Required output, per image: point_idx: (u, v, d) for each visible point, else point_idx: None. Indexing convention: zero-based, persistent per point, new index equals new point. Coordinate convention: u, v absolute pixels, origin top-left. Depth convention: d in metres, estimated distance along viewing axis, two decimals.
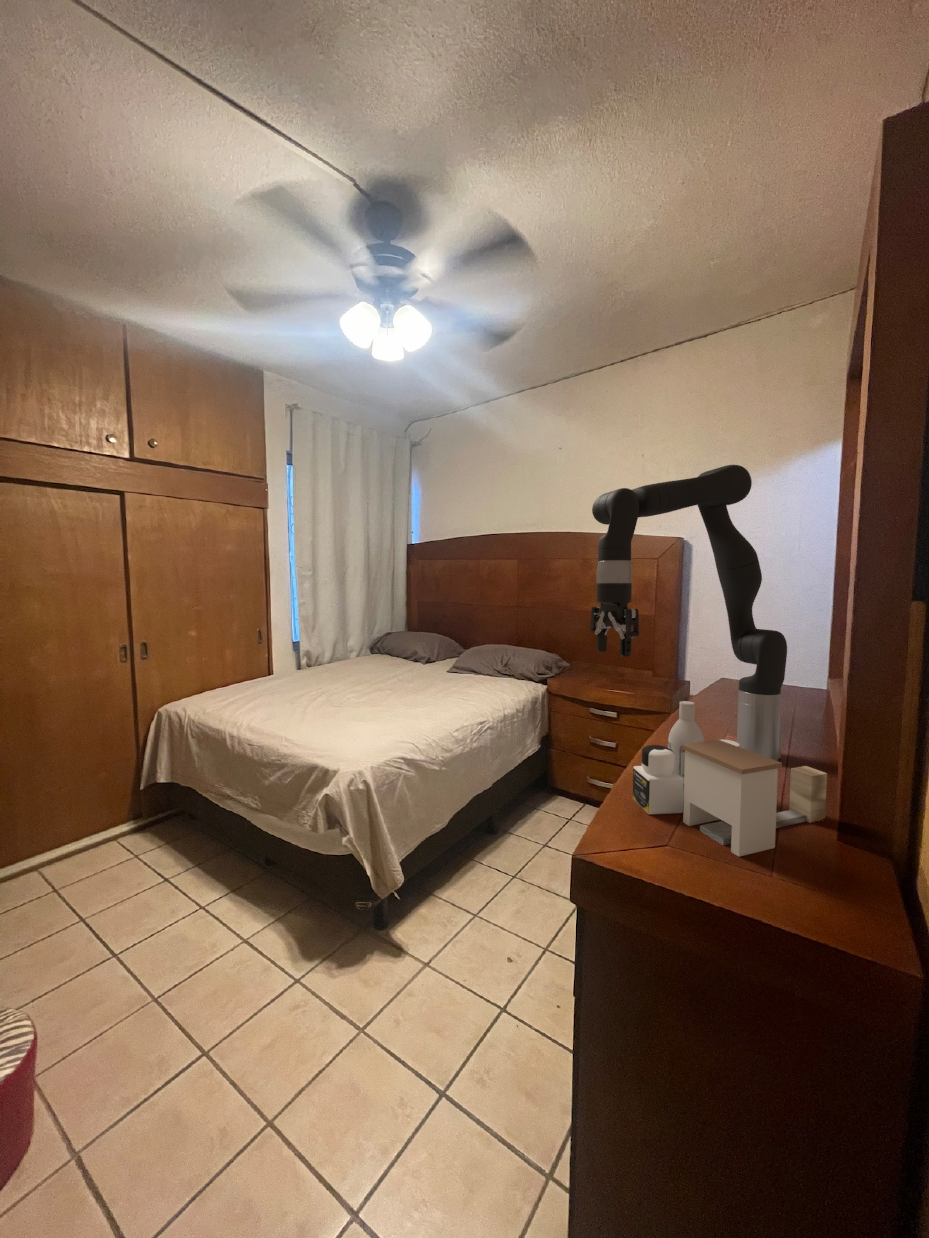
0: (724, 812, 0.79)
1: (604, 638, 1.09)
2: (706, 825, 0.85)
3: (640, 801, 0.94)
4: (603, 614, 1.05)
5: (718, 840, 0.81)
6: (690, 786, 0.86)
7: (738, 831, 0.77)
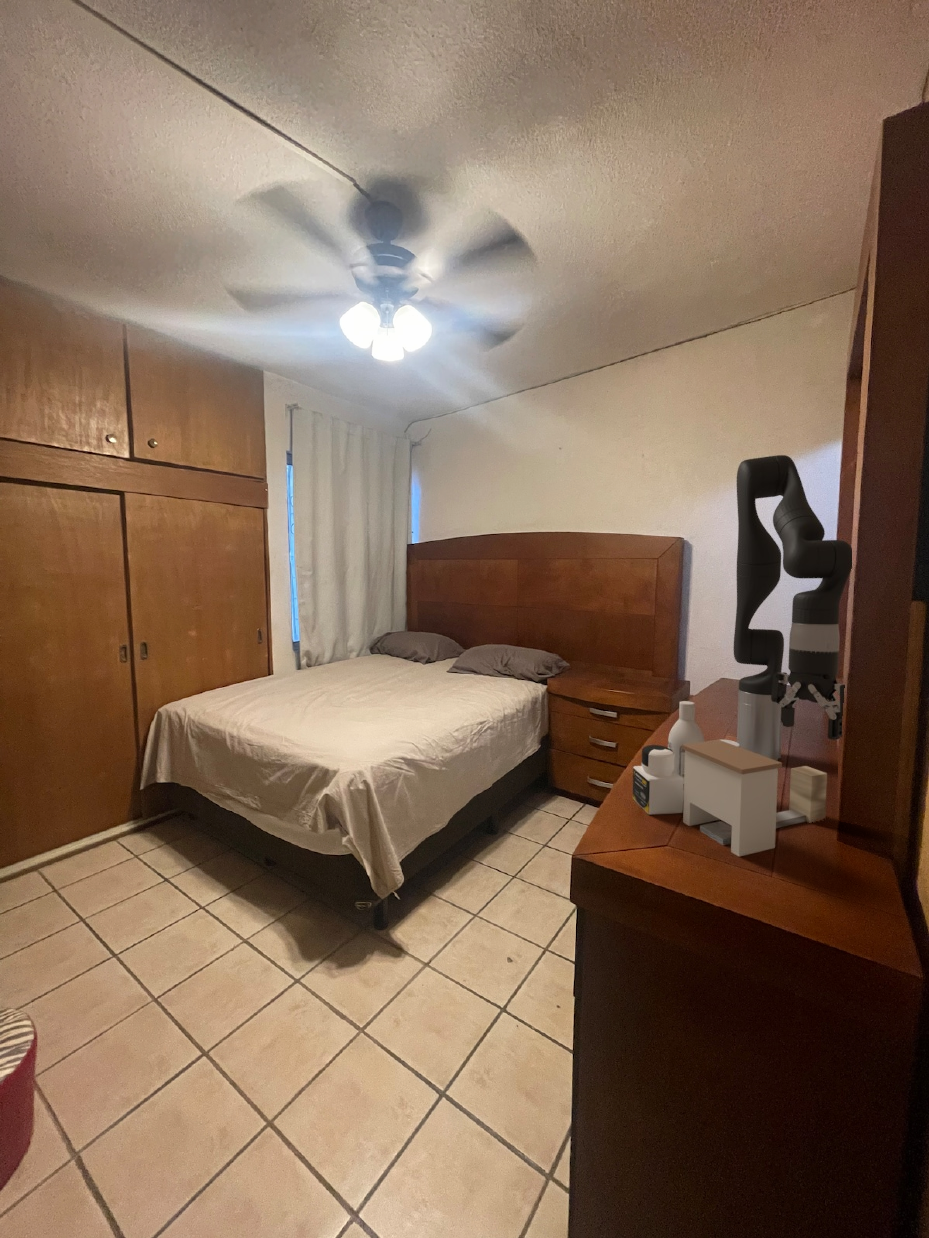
0: (724, 812, 0.79)
1: (792, 711, 0.92)
2: (706, 825, 0.85)
3: (640, 801, 0.94)
4: (799, 685, 0.89)
5: (718, 840, 0.81)
6: (690, 786, 0.86)
7: (738, 831, 0.77)
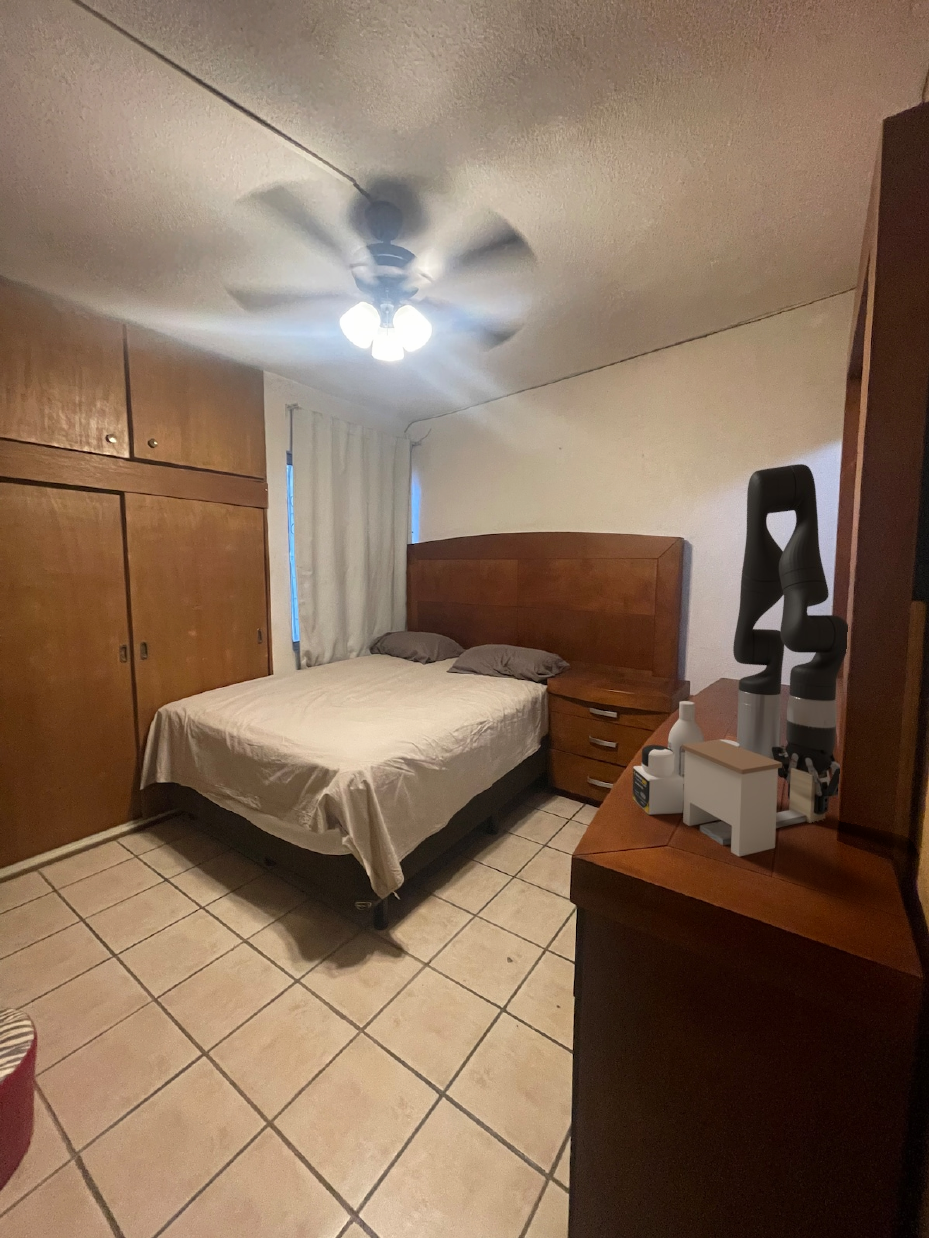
0: (724, 812, 0.79)
1: None
2: (706, 825, 0.85)
3: (640, 801, 0.94)
4: (796, 756, 0.89)
5: (718, 840, 0.81)
6: (690, 786, 0.86)
7: (738, 831, 0.77)
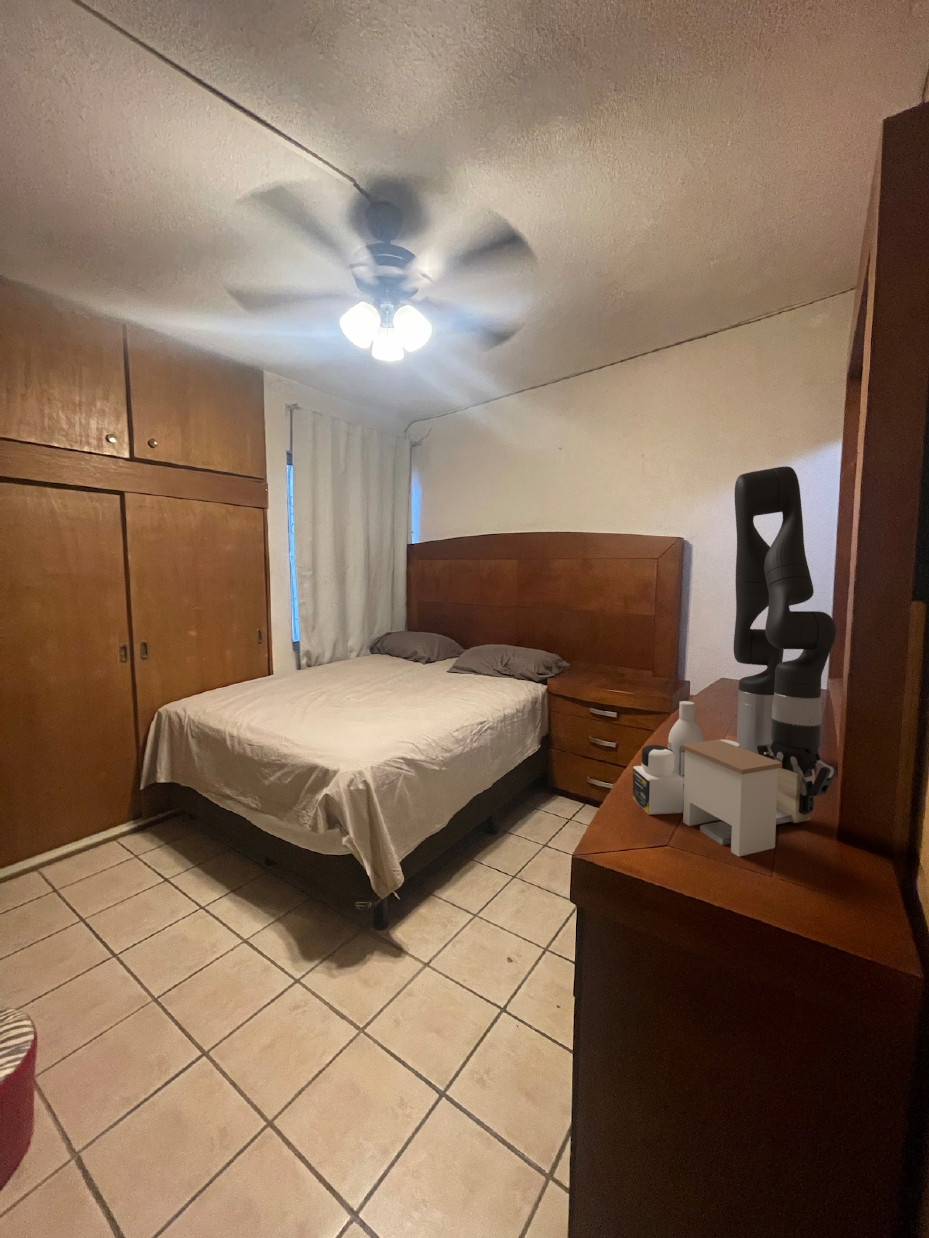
0: (724, 812, 0.79)
1: None
2: (706, 825, 0.85)
3: (640, 801, 0.94)
4: (781, 755, 0.88)
5: (717, 840, 0.81)
6: (690, 786, 0.86)
7: (738, 831, 0.77)
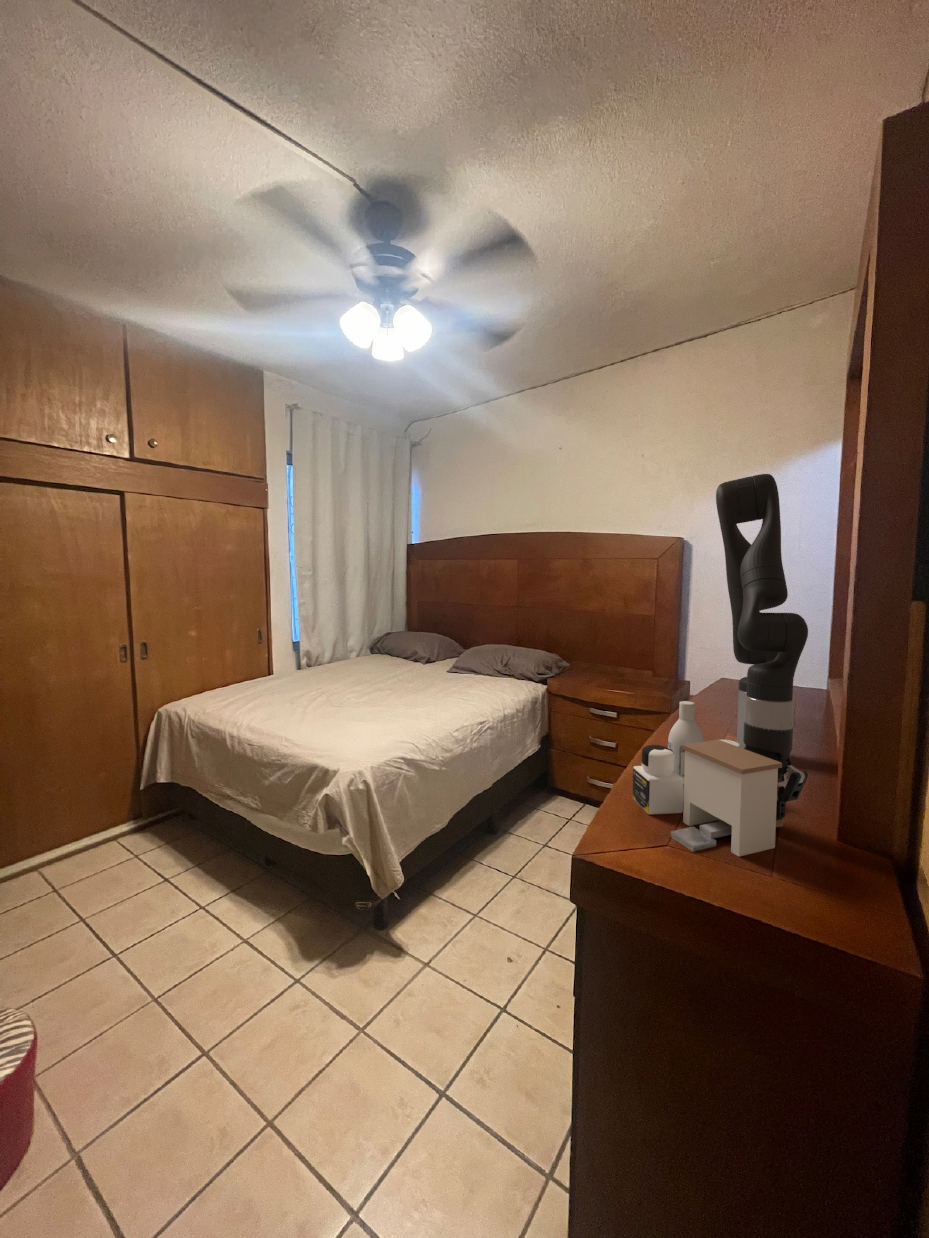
0: (724, 812, 0.79)
1: None
2: (677, 831, 0.83)
3: (640, 801, 0.94)
4: None
5: (688, 847, 0.79)
6: (690, 786, 0.86)
7: (738, 831, 0.77)
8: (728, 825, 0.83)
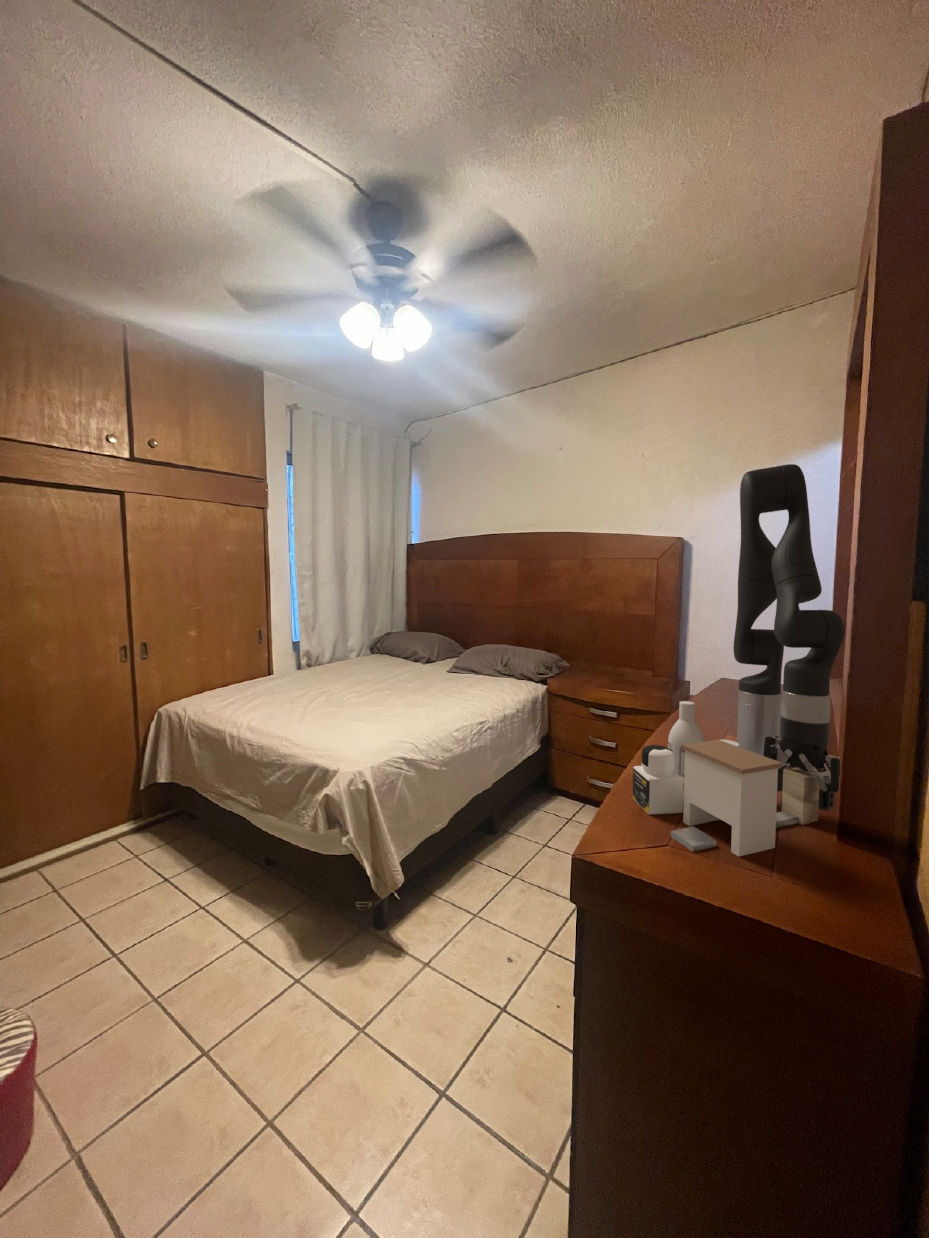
0: (724, 812, 0.79)
1: None
2: (677, 830, 0.83)
3: (640, 801, 0.94)
4: (790, 753, 0.89)
5: (688, 846, 0.79)
6: (690, 786, 0.86)
7: (738, 831, 0.77)
8: None
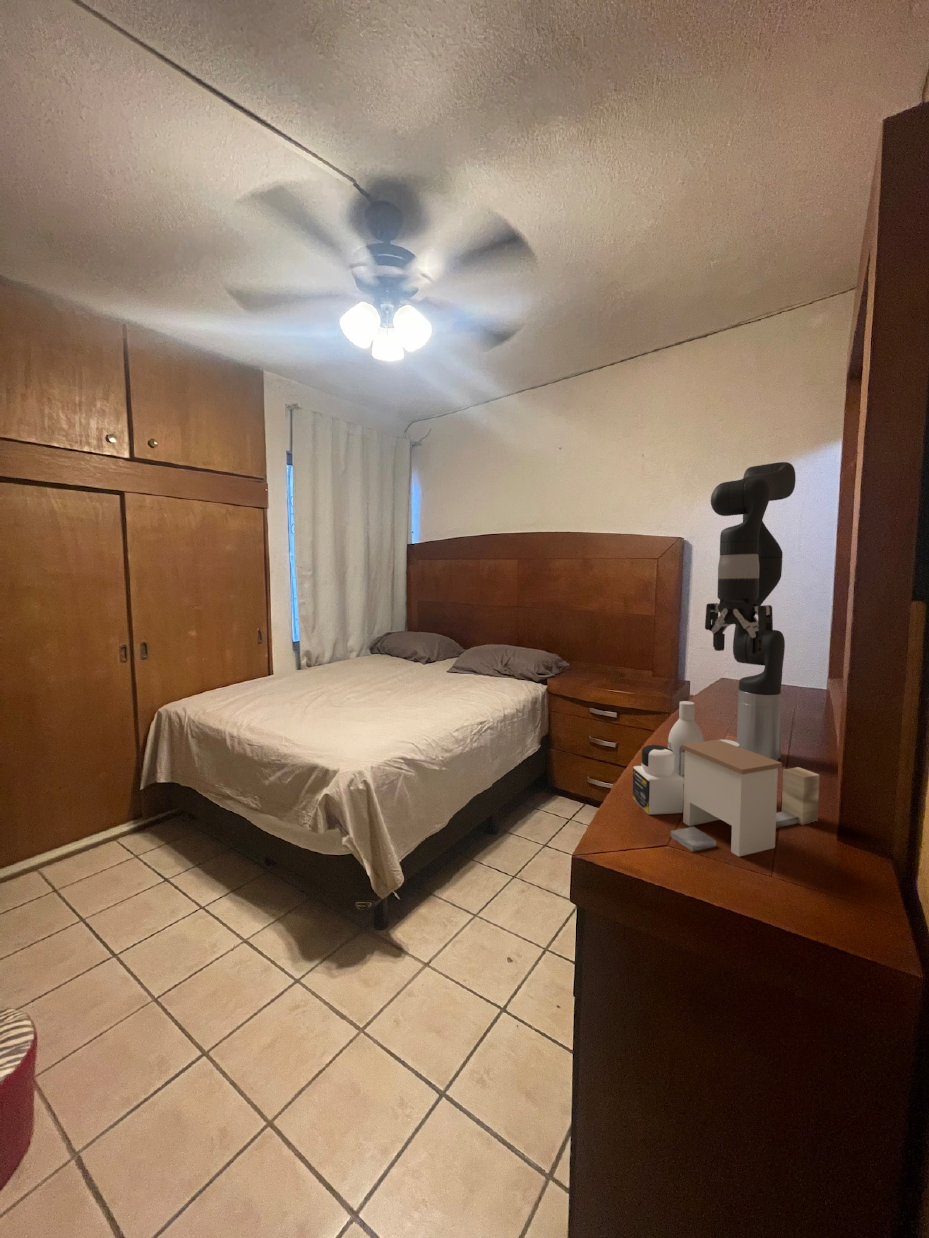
0: (724, 812, 0.79)
1: (722, 637, 1.03)
2: (677, 830, 0.83)
3: (640, 801, 0.94)
4: (726, 611, 0.99)
5: (687, 846, 0.79)
6: (690, 786, 0.86)
7: (738, 831, 0.77)
8: None
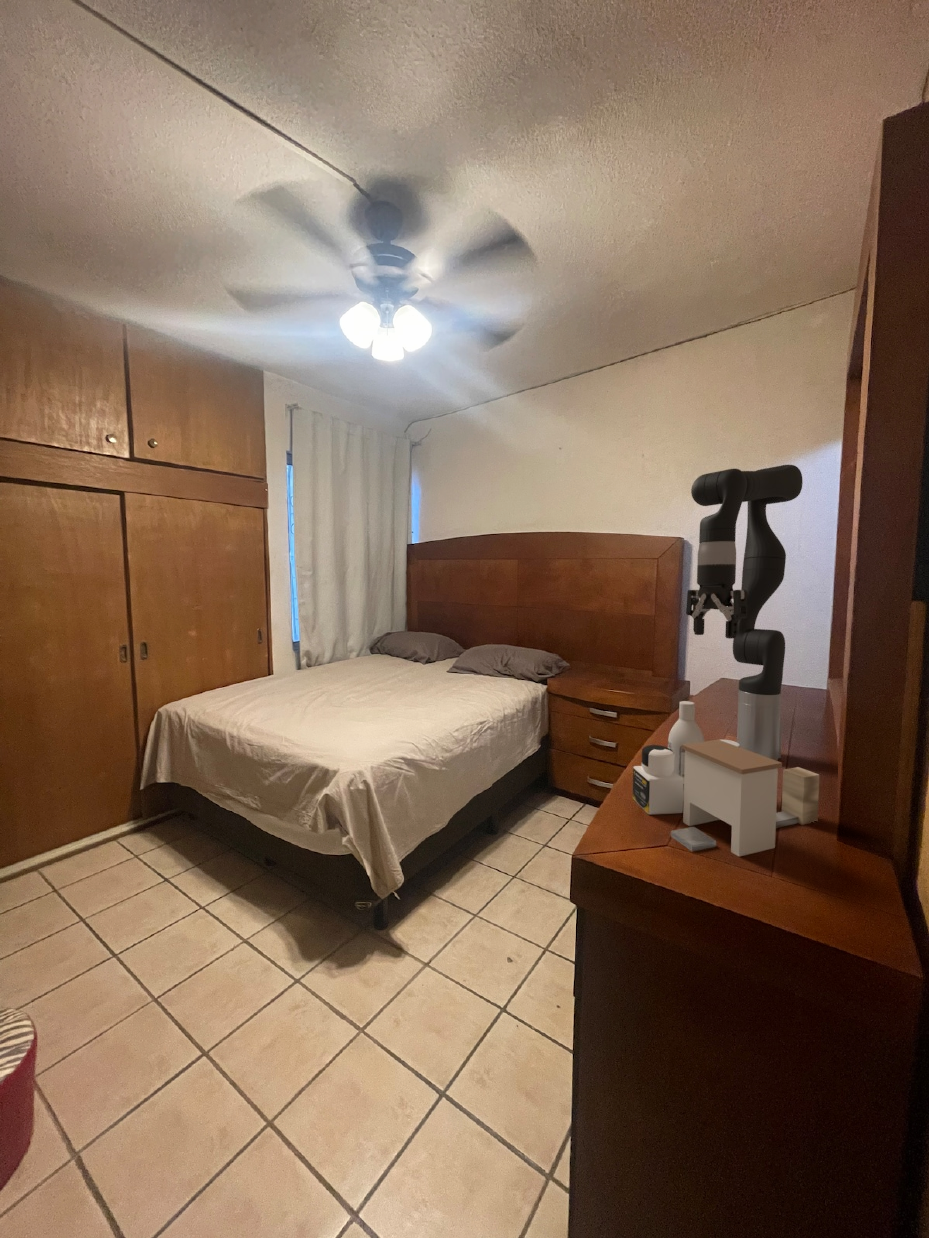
0: (724, 812, 0.79)
1: (702, 621, 1.08)
2: (677, 830, 0.83)
3: (640, 801, 0.94)
4: (704, 596, 1.04)
5: (687, 846, 0.79)
6: (690, 786, 0.86)
7: (738, 831, 0.77)
8: None
